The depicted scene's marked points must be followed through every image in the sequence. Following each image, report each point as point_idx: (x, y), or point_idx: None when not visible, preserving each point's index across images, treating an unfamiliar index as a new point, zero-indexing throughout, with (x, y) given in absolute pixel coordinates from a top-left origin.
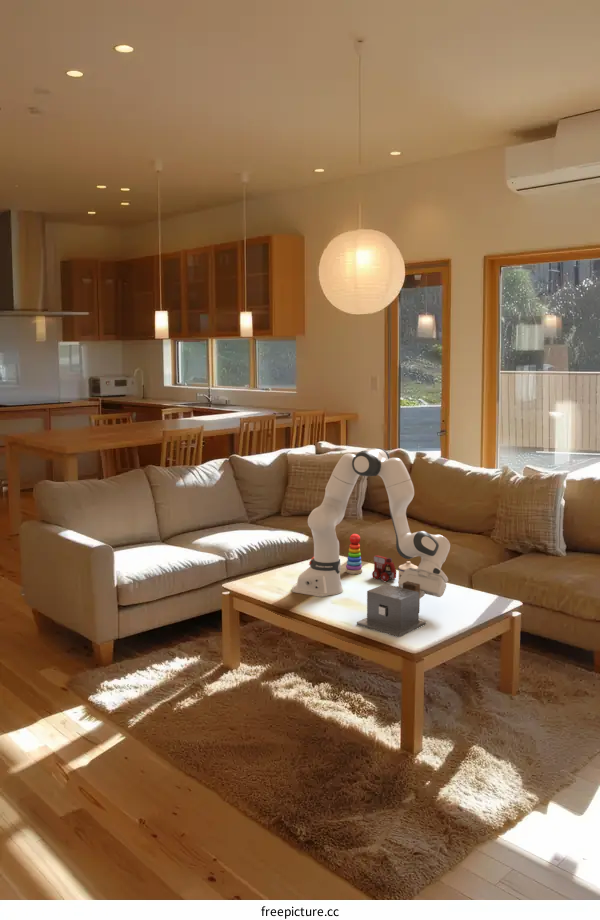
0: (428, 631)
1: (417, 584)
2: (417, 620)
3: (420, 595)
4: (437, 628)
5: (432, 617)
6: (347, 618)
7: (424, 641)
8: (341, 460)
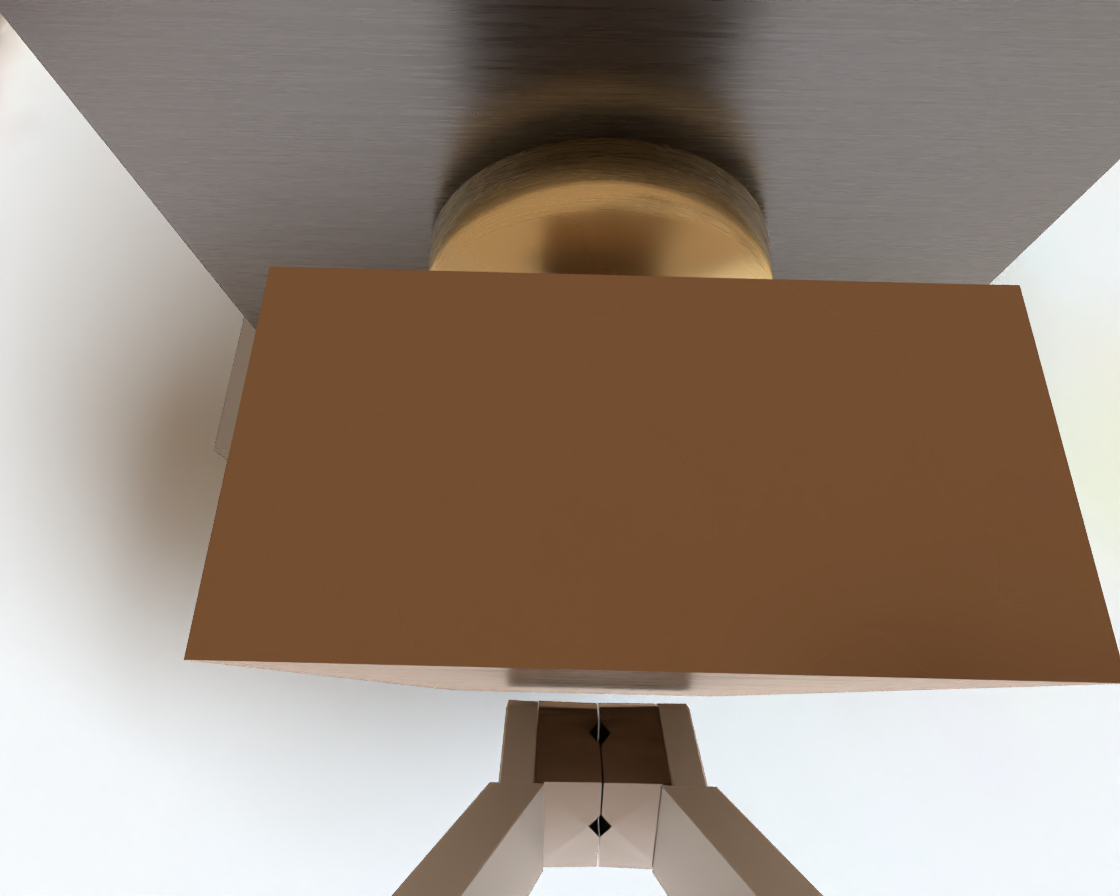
0: (115, 303)
1: (279, 505)
2: None
3: (445, 855)
4: (42, 448)
5: (267, 805)
6: None
7: None
8: None
